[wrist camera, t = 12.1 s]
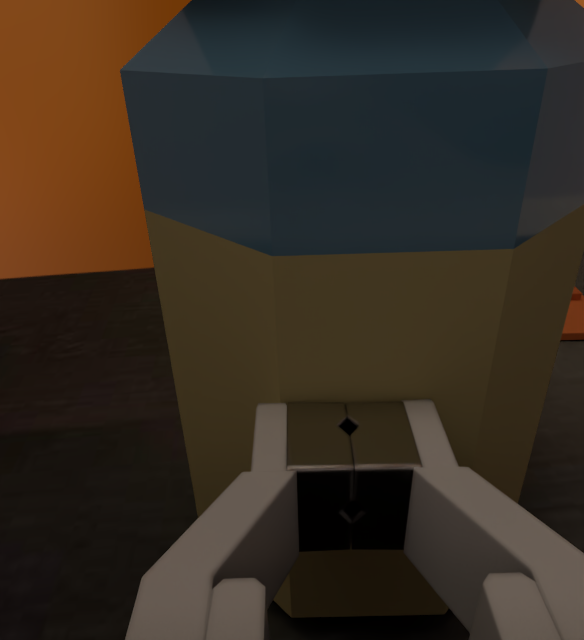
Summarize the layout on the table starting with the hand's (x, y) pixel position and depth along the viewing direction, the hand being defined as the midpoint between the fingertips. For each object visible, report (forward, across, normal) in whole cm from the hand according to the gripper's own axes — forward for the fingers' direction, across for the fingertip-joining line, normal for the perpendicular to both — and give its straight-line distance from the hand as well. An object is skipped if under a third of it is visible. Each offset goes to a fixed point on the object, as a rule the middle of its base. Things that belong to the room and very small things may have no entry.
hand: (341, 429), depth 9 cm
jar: (+4, -1, +6) cm, 8 cm away
